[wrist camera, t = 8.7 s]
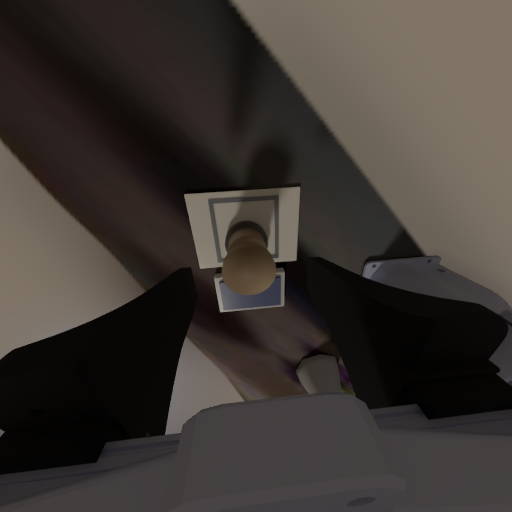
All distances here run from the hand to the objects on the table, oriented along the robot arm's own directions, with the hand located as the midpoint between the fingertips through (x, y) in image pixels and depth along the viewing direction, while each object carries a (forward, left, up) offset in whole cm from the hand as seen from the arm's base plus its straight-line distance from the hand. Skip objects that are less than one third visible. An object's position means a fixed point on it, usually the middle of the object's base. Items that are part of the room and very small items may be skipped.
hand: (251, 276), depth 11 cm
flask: (-10, +25, -9) cm, 28 cm away
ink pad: (0, +7, -9) cm, 12 cm away
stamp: (0, +1, -9) cm, 9 cm away
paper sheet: (0, 0, -9) cm, 9 cm away
